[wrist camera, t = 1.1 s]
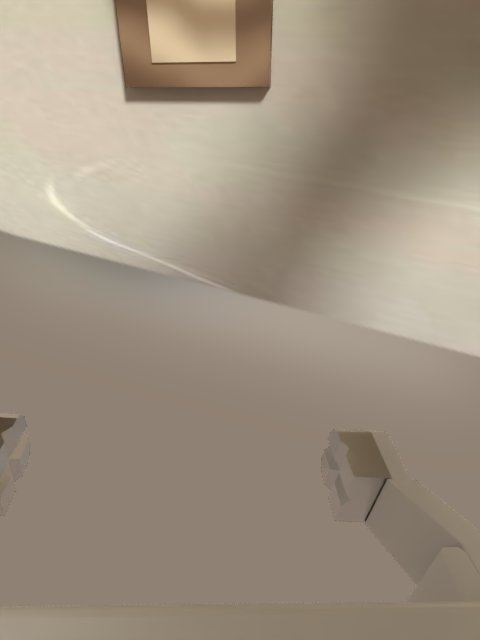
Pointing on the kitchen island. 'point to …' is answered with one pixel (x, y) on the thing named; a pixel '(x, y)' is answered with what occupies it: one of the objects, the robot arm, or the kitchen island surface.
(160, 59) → the socket board
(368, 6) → the kitchen island surface
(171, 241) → the kitchen island surface
